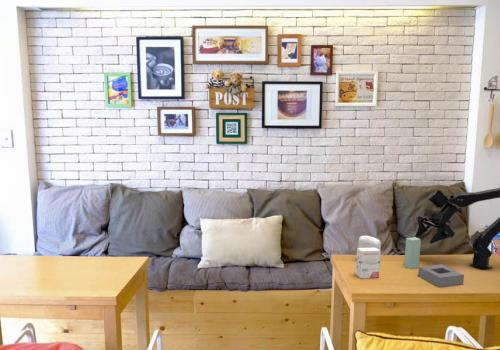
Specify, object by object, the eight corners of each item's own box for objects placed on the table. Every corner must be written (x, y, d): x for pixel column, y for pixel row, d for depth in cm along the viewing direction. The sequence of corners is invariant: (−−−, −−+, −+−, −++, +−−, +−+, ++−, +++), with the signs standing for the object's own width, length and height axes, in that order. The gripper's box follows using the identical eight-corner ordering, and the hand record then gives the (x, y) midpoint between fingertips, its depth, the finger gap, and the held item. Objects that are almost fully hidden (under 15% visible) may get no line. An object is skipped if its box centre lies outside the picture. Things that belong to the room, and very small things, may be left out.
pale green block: (413, 264, 186) (415, 237, 184) (418, 267, 183) (420, 239, 181) (404, 265, 184) (406, 238, 183) (409, 268, 181) (411, 240, 179)
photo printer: (380, 264, 186) (382, 238, 184) (376, 266, 183) (378, 240, 181) (360, 258, 193) (362, 233, 191) (355, 260, 190) (357, 235, 188)
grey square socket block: (441, 273, 176) (441, 264, 176) (463, 284, 165) (464, 274, 164) (418, 275, 173) (418, 266, 172) (439, 287, 161) (439, 277, 161)
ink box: (374, 273, 175) (376, 246, 173) (379, 277, 170) (381, 250, 168) (355, 274, 173) (356, 247, 172) (359, 278, 169) (361, 251, 167)
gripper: (421, 198, 192) (399, 223, 190) (451, 207, 174) (428, 234, 172) (433, 214, 195) (412, 238, 193) (464, 224, 177) (441, 251, 176)
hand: (422, 240), depth 184 cm, fingers open, 9 cm apart
